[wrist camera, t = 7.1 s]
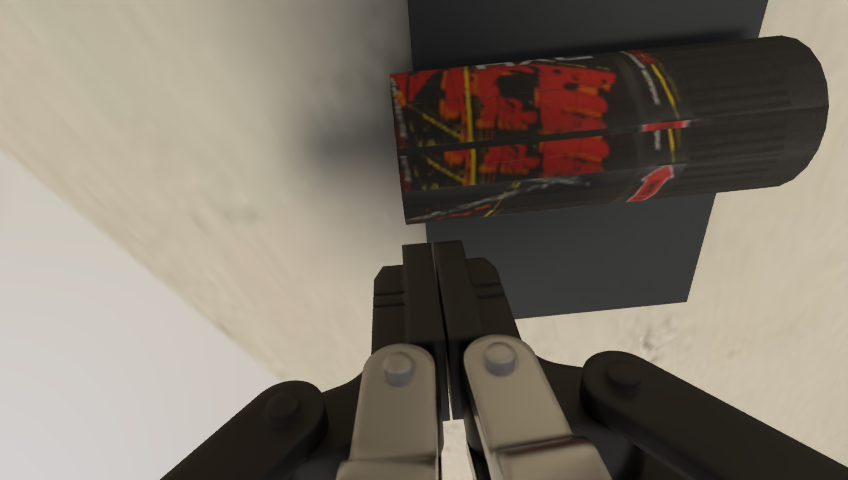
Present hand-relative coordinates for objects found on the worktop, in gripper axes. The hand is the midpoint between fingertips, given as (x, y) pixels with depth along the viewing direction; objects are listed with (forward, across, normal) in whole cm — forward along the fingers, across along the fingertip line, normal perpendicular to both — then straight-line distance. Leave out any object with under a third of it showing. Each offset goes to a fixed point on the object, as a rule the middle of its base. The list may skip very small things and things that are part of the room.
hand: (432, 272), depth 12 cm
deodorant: (+8, +1, 0) cm, 8 cm away
